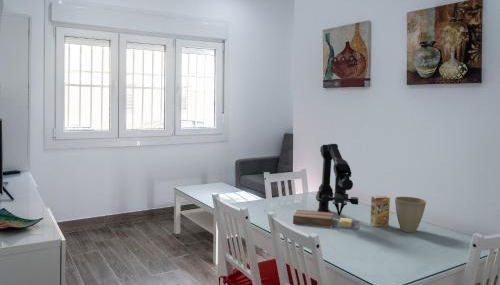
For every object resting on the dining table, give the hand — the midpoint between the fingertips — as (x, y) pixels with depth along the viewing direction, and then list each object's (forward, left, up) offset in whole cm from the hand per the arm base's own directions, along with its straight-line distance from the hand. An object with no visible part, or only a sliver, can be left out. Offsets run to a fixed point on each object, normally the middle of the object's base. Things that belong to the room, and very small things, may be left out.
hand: (339, 215), depth 225 cm
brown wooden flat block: (0, -13, -4) cm, 14 cm away
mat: (0, +4, -4) cm, 6 cm away
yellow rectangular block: (0, +3, -2) cm, 4 cm away
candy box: (-5, +21, -5) cm, 22 cm away
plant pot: (-1, +35, -5) cm, 35 cm away
